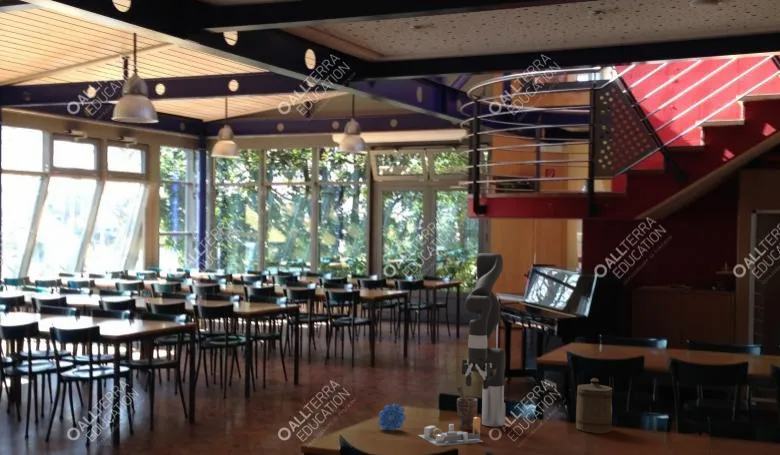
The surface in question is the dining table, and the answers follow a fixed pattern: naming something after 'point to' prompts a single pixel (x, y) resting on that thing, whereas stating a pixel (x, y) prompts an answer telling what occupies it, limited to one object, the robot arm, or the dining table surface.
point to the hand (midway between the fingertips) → (476, 387)
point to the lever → (454, 436)
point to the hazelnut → (436, 432)
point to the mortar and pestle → (466, 409)
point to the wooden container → (594, 407)
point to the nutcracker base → (431, 439)
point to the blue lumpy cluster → (391, 417)
